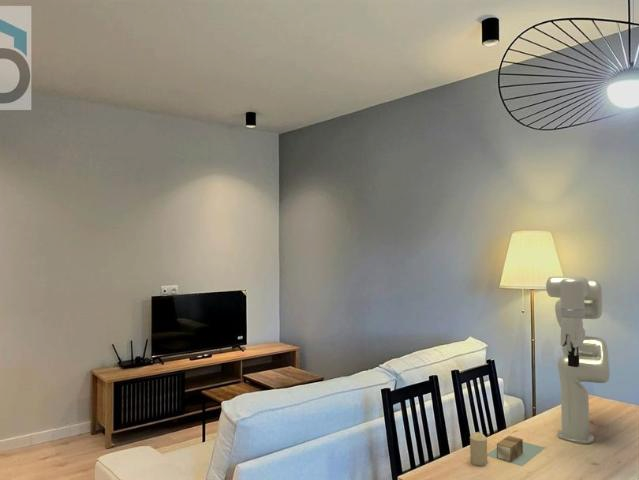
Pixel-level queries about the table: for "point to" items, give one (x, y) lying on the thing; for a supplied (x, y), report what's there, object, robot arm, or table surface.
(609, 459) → the table surface
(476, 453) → the candle
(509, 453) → the block
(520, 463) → the mat
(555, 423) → the table surface
